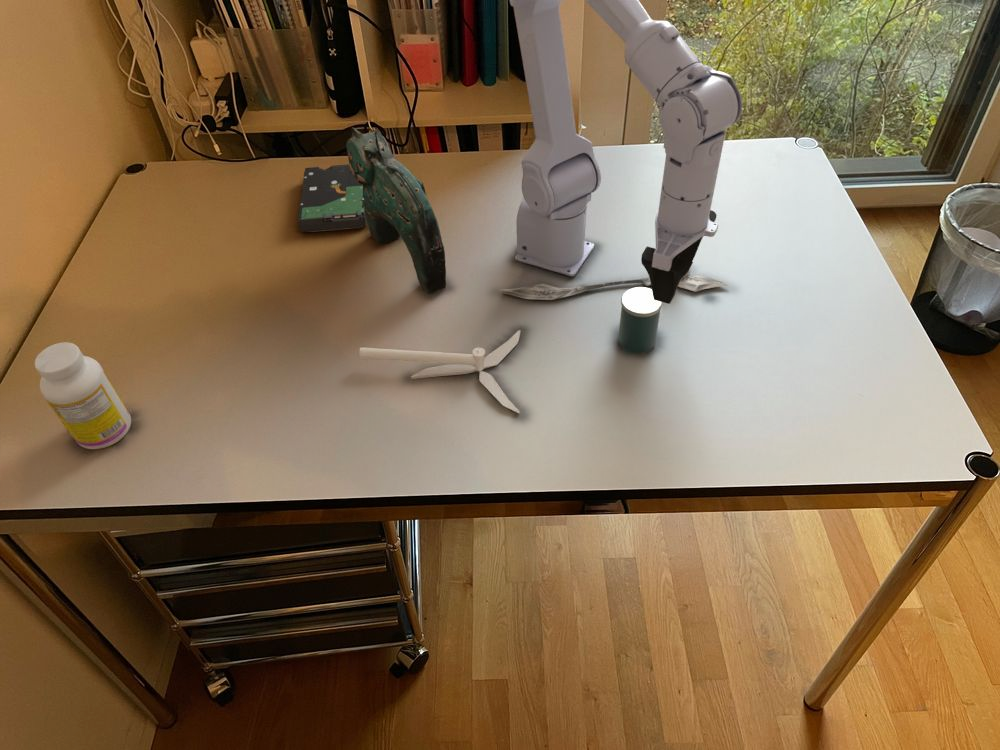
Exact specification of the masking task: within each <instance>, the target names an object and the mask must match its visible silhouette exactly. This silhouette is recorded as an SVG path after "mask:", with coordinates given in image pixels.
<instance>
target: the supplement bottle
mask: <svg viewBox="0 0 1000 750" xmlns="http://www.w3.org/2000/svg"><path fill="white" fill-rule="evenodd" d="M34 367H35V369H36V371H37V373H38V374H39V376H40V380H39V390H40V393H41V395H42V396H43V398H44V399H45V400H46V402H47V403H48V405H49V406H50V407H51V409H52V410H53V412H54V413H55V414H56V416H57V417H58V419H59V420H60V421H61V423H62V424H63V426H64V427H65V428H66V430H67V431H68V433H69V435H70V436H71V437H72V438H73V440H74V441H75V442H76V444H77V445H79V446H80V447H82V448H84V449H88V450H100V449H104V448H108V447H110V446H113V445H115V444H117V443H118V442H120V441H121V440H122V439H123V438H124V437H125V436H126V435H127V434H128V432H129V430H130V428H131V425H132V416H131V414H130V412H129V411H128V408H127V407H126V405H125V403H124V402H123V399H121V396H120V395H119V394H118V391H116V388H115V387H114V385H113V384H112V382H111V381H110V379H109V378H108V376H107V374H106V372H105V371H104V369H103V367H102V366H101V364H100V363H99V361H97V360H96V359H94V358H92V357H91V356H87V355H84V354H83V352H82V351H81V350H80V348H79V347H78V346H77V345H76V344H75V343H72V342H65V341H63V342H58V343H55V344H52V345H50V346H47V347H46V348H44V349H43V350H42V351H40V352H39V353H38V355H37V356H36V357H35V359H34Z"/></svg>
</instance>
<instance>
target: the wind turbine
mask: <svg viewBox="0 0 1000 750" xmlns="http://www.w3.org/2000/svg"><path fill="white" fill-rule="evenodd" d="M521 331H522V330H517V331H516V332H515V333H514V334H513V335H512V336H511V337H510V338H509V339H508V340H506V341H505V342H504V343H503V344H501V345H500V346H498V347H497V348H496V349H494V350H493V351H491V352H490V353H489V354H487V355H486V350H485V349H484V348H483V347H475V348H473V349H472V353H457V352H443V351H442V352H440V351H424V350H408V349H407V350H406V349H394V348H393V349H390V348H377V347H375V348H374V347H360V348H359V352H358V354H359V355H358V356H359V359H363V360H364V359H366V360H380V361H381V360H382V361H396V362H397V361H398V362H414V363H426V364H427V363H428V364H429V363H430V364H443V365H437V366H431V367H426V368H424V369H422V370H420V371H417V372H416V373H414V374H412V375H411V376H410V378H411V379H412V380H417V379H418V380H419V379H424V378H425V379H426V378H432V377H435V378H436V377H447V376H456V375H467V374H471V373H475V372H478V373H479V379H478V381H479V382H480V383H481V384H482V385H483V386H484V387H485V388H486V390H488V392H489V393H490V394H491V395H492V396H493V397H494V398H495V399H496V400H497V401H498V403H499V404H501V405H502V406H503V407H505V408H507V409H509V410H510V411H513V412H515V413H517V414H520V409H518V408H517V407H516V406H515V404H514V403H513V402H512V401H511V400H510V399H509V398H508V397H507V395H506V393H505V392H504V391H503V390H502V388H501V387H500V385H499V384H498V382H497V381H496V380H495V378H494V377H493V376H492V374H491V373H488V372H486V371H483V370H484V369H488V368H491V367H494V366H497V365H499V364H500V362H502V360H503V359H504V358H505V357H506V356H508V354H509V353H510V352H511V351H512V350H513V349H514V348H515V347H516V346H517V345H518V343H519V340H520V336H521Z"/></svg>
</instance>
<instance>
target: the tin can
mask: <svg viewBox="0 0 1000 750" xmlns="http://www.w3.org/2000/svg"><path fill="white" fill-rule="evenodd" d="M620 303H621V308H620V319H619V328H618V338H617V341H618V344H619V346H620V347H621V348H622V349H623V350H625V351H627V352H628V353H632V354H643V353H647V352H649V351H651V350H652V349H653V348H654V347H655V345H656V342H657V336H658V335H657V334H658V328H659V321H660V315H661V309H662V307H663V302H660V301H657V300H654V298H653V293H652V288H650V287H645V286H636V287H632V288H629V289H627V290H625V292H623V294H622V295H621V301H620Z"/></svg>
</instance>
